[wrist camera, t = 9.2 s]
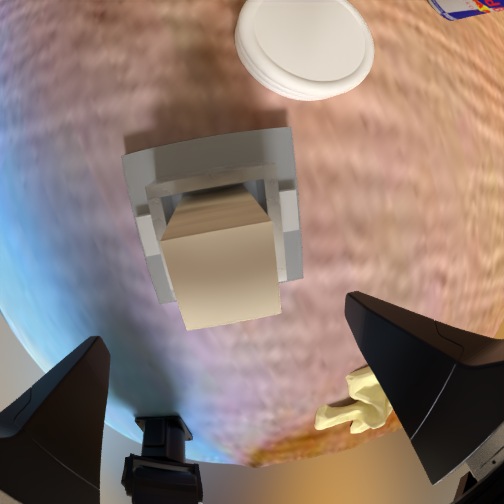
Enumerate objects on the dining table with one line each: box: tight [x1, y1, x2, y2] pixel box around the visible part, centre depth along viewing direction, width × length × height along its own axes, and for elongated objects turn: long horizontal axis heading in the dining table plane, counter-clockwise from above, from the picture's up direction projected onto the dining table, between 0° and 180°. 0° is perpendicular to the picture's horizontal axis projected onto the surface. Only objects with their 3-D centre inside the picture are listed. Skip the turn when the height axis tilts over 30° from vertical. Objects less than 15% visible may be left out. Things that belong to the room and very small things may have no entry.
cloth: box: [315, 366, 393, 433], centre depth 32 cm, size 22×19×6 cm
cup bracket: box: [145, 160, 287, 301], centre depth 18 cm, size 8×8×4 cm
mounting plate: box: [121, 127, 303, 304], centre depth 20 cm, size 12×12×2 cm
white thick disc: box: [235, 0, 374, 101], centre depth 15 cm, size 10×10×4 cm
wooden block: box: [160, 185, 281, 331], centre depth 15 cm, size 4×4×9 cm
